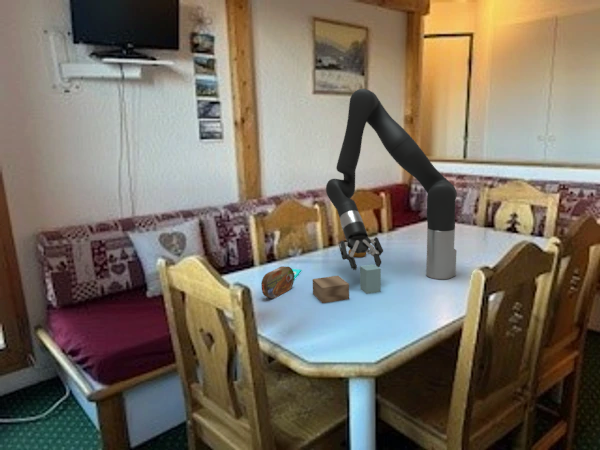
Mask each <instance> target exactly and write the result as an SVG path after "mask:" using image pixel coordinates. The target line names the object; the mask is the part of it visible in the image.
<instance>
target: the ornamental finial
mask: <svg viewBox="0 0 600 450" xmlns="http://www.w3.org/2000/svg"><path fill="white" fill-rule="evenodd" d="M350 252H351V249H350V248H349V249H348V251H347V254H350ZM366 255H367V252H365V253H358V254H357V253H354V255H353V258H364V257H365V256H366Z"/></svg>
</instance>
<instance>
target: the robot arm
mask: <svg viewBox="0 0 600 450" xmlns="http://www.w3.org/2000/svg"><path fill="white" fill-rule="evenodd" d="M347 115H348V116H347V122H346V128H345V132H344V137H343V141H342V145H341V148H340V152H339V156H338V159H337V163H336V168H335V169H336V171H337V172H339V173H341V174H342V175H343V179H340V178H331V179H329V181H327V182H326V185H325V191H326V196H327V197H328V199H329V201H330V202H331V204H332V205H333V206H334V209H336V211H337V214H338V216H339V220H340V226H341V229H342V231H343V234H344V238H345V240H346V241H344V240H341V241H340V242H339V245H338V247H339V252H340V256H341V259H342V260H347V261H348V263H349V266H350V268H351V269H352V270H353V271H356V270H357V269H358V264H357V262H356V259H355V257H353V255H354V253H357V254H358V253H365V252H366V254H368V255H370V256H372V257H373V260H374V265H376V266H377V267H379V268H381V265H382V260H381V255H382V254H383V252H384V249H383V247H382V245H381V242H380V240H379V238H378V236H375V237H374V238H371V239H370V238H369V235H368V233H367V230H366V225H365V224H364V221H363V218H362V215H361V214H360V212H359V209H358V206H357V203H356V202H355V200H354V199H352V198H353V196H354V194H355V191H356V169H357V166H358V163H359V159H360V156H361V155H360V154H361V150H362V142H363V136H364V131H365V127H366V124H368V125H369V126H370V127H371V128H372V129H373V130H374V132H375V133H376V134H377V136H378V138H379V140H380V141H381V144H382V145H383V147H384V148H385V150H386V152H388V154H389V155H390V157H391V158H392V159H393V160H394V161H395V162H396V163H397V164H398V166H400V167H401V168H402V169H403V170H404V171H406V172H407V173H408V174H409V175H410V176H412V177H414V179H416V181H418V183H419V184H420V185H421V186H422V188H423V189H424V190H425V192H426V193H427V196H426V223H427V229H426V230H427V231H426V233H427V234H426V269H425V275H426V277H428V278H431V279H436V280H448V279H452V278H453V277H456V273H457V270H456V269H457V249H455V240H456V239H455V237H456V236H455V235H456V234H455V233H456V199H457V197H458V194H457V189H456V187H455V186H454V184H452V183H451V182H450V181H449V180H448V179H447V178H446V177H445V176H444V174H442V173H441V172H440V171H439V170H438V169H437V168H436V167H435V166H434V164H433V163H432V162H431V160H430V159H429V158H428V156H427V155H426V154H425V152H424V151H423V149H422V148H421V147H420V145H418V143H417V142H416V141H415V140H414V138H412V137H411V135H410V134H409V133H408V132H407V131H406V130H405V129H404V128H403V127H402V126H401V125H400V124H399V123H398V122H396V120H395V119H394V118H393V117H392V116H391V115H390V114H389V113H388V111H387V110H386V109H385V107H384V106H383V104H382V103H381V101H380V100H379V97H378V96H377V95H376V94H375V92H373V91H371V90H369V89H367V88H360V89H357V90H355V91H354V92H353V93H352V94H351V96H350V98H349V105H348V114H347ZM347 248H349V250H350V249H351V252H350V254H348V251H347Z"/></svg>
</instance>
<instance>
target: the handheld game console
mask: <svg viewBox="0 0 600 450" xmlns="http://www.w3.org/2000/svg"><path fill="white" fill-rule="evenodd" d="M291 269H292V270H293V273H294V281H295V280H296V279H297V278H298V277H297V276H300V274H301V273H302V272H303V270H302V269H297V268H291ZM301 271H302V272H301ZM300 272H301V273H300ZM299 273H300V274H299ZM296 277H297V278H296ZM295 278H296V279H295Z"/></svg>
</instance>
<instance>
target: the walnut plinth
mask: <svg viewBox="0 0 600 450" xmlns="http://www.w3.org/2000/svg"><path fill="white" fill-rule="evenodd" d="M312 295H314V296H315V297H316V298H317V300H319V301H320V302H321V303H322V304H325V303H333V302H339V301H347V300H350V283H348V281H346V280H345V279H343V278H342V277H341V276H340V275H332V276H324V277H317V278H312Z"/></svg>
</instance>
